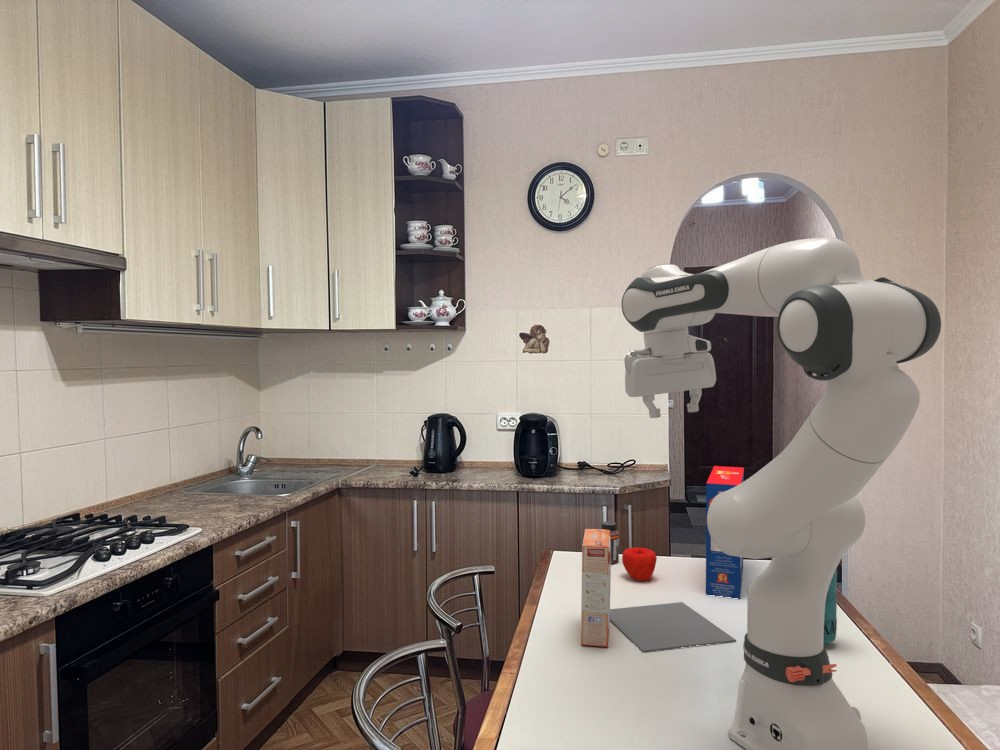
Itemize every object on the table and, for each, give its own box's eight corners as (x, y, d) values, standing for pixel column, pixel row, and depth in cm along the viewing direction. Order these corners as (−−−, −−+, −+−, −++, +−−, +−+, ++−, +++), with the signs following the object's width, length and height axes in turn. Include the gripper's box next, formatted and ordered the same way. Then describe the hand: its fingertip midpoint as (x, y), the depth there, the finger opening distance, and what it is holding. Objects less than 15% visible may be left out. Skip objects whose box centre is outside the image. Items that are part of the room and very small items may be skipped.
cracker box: (610, 648, 135) (610, 546, 134) (580, 646, 136) (580, 544, 135) (610, 621, 148) (611, 528, 148) (583, 620, 149) (583, 527, 149)
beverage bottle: (798, 636, 141) (799, 541, 140) (832, 638, 139) (833, 543, 139) (805, 649, 134) (806, 550, 134) (841, 652, 133) (842, 552, 132)
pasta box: (713, 562, 191) (714, 466, 190) (743, 566, 188) (743, 467, 187) (705, 595, 165) (706, 483, 164) (740, 599, 162) (740, 485, 161)
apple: (615, 578, 177) (615, 549, 177) (635, 571, 183) (635, 543, 183) (643, 587, 171) (643, 556, 171) (663, 579, 177) (663, 550, 177)
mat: (736, 641, 138) (736, 639, 138) (642, 652, 133) (642, 650, 133) (682, 603, 159) (682, 602, 159) (600, 611, 154) (600, 610, 154)
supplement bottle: (594, 562, 191) (594, 523, 191) (603, 557, 196) (603, 519, 196) (613, 566, 188) (613, 526, 188) (622, 560, 193) (622, 522, 193)
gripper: (633, 349, 128) (640, 421, 128) (717, 341, 136) (724, 408, 136) (615, 352, 133) (622, 420, 133) (696, 344, 141) (703, 408, 141)
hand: (674, 414), depth 135 cm, fingers open, 8 cm apart
